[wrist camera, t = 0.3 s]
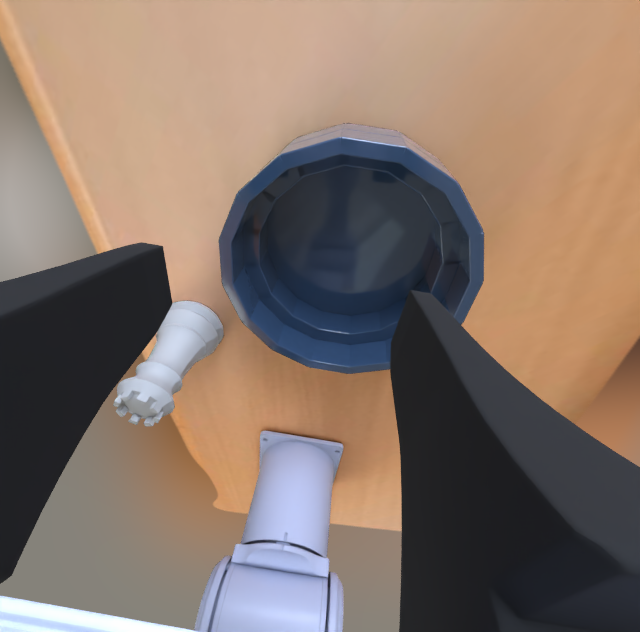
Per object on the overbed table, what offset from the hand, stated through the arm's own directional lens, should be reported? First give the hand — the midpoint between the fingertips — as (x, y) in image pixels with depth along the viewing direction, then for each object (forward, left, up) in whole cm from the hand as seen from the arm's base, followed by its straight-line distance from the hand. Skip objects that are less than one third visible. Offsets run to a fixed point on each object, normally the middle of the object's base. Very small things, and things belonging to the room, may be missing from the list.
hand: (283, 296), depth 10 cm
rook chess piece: (-10, +8, -10) cm, 17 cm away
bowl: (-2, -2, -10) cm, 11 cm away
